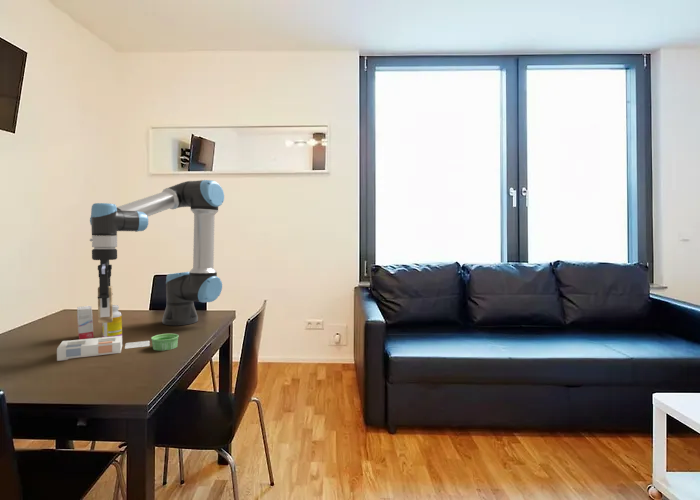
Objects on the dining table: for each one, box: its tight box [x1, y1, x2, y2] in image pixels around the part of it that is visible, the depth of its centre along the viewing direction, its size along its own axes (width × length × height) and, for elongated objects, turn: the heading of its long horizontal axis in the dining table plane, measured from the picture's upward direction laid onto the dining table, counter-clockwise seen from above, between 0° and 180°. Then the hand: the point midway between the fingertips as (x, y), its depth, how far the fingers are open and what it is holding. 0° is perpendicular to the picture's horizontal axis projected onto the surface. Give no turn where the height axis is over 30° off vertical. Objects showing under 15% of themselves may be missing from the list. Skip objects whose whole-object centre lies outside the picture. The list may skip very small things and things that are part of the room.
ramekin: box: [150, 333, 179, 352], centre depth 148 cm, size 9×9×4 cm
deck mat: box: [124, 340, 151, 350], centre depth 152 cm, size 8×8×1 cm
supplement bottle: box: [101, 304, 123, 337], centre depth 161 cm, size 7×7×13 cm
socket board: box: [56, 335, 123, 362], centre depth 142 cm, size 18×10×4 cm, turn 116°
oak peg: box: [97, 285, 113, 324], centre depth 143 cm, size 4×4×12 cm
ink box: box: [76, 305, 94, 340], centre depth 162 cm, size 9×5×12 cm, turn 34°
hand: (105, 315), depth 143 cm, fingers closed on oak peg, 4 cm apart
